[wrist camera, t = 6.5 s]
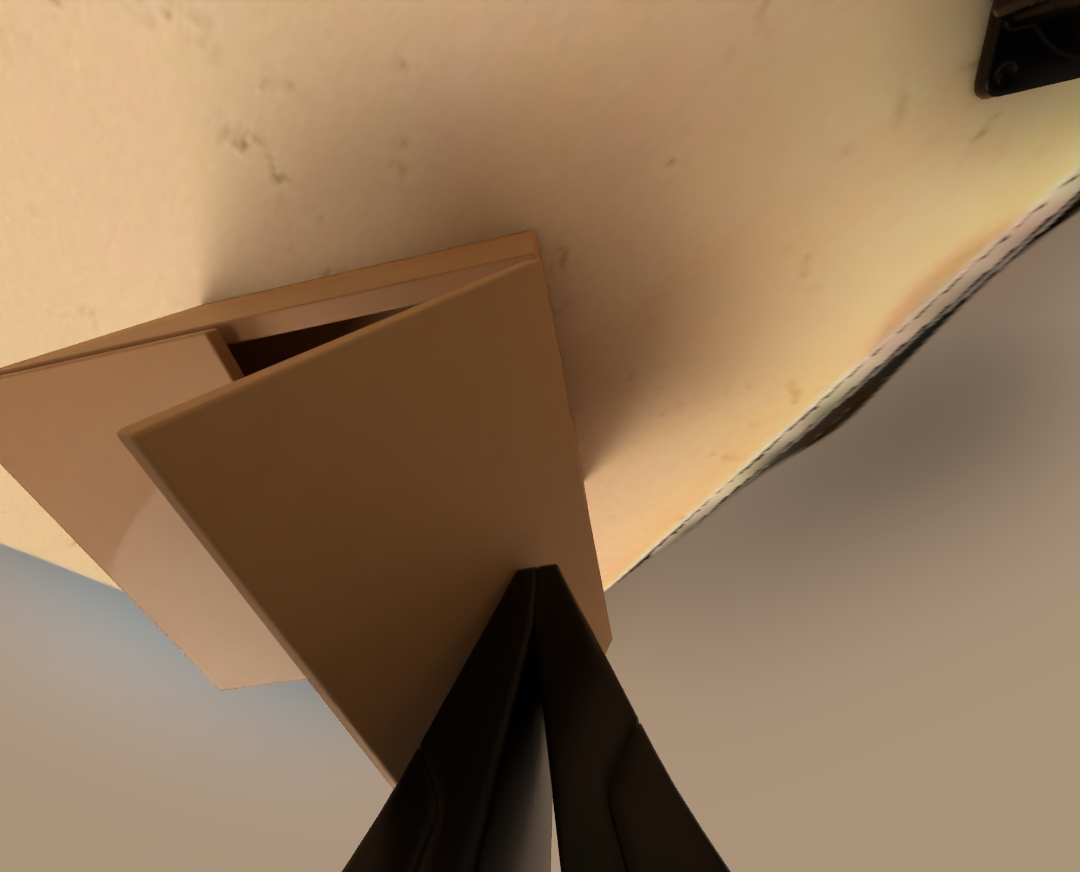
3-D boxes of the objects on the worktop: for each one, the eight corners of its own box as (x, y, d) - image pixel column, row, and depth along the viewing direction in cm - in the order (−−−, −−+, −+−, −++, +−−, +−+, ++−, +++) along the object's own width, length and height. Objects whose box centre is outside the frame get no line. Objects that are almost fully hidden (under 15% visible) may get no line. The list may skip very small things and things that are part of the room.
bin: (536, 229, 15) (533, 256, 8) (584, 482, 20) (608, 641, 13) (200, 305, 16) (-75, 391, 9) (326, 525, 21) (218, 692, 14)
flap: (522, 260, 8) (541, 257, 8) (600, 634, 13) (613, 638, 13) (111, 431, 3) (127, 436, 3) (474, 894, 9) (490, 908, 8)
